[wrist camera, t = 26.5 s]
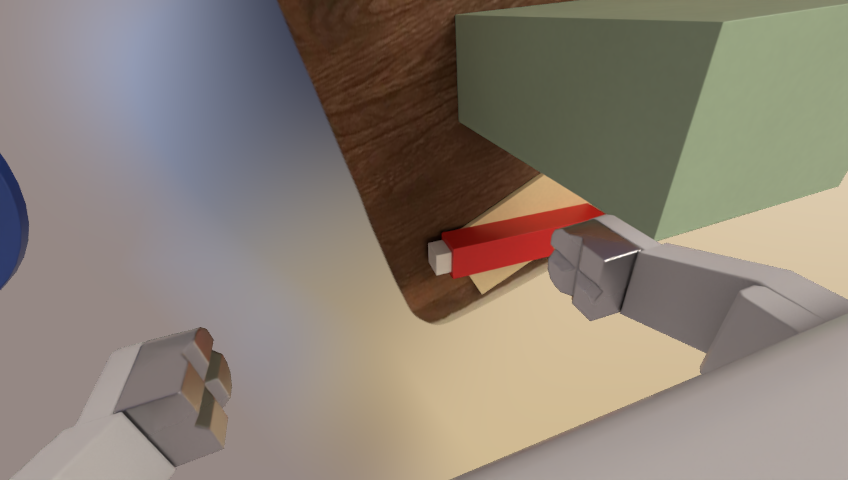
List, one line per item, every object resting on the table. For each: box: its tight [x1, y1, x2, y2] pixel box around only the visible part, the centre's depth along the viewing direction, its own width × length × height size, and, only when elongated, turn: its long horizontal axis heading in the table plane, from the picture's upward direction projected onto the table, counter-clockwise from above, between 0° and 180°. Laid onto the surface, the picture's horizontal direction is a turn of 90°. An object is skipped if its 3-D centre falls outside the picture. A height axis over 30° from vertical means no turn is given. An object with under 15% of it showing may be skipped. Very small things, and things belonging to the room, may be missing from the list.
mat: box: [461, 173, 591, 294], centre depth 51 cm, size 20×12×1 cm, turn 120°
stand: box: [455, 0, 848, 241], centre depth 28 cm, size 14×10×26 cm
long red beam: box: [428, 203, 605, 279], centre depth 48 cm, size 24×4×4 cm, turn 92°
